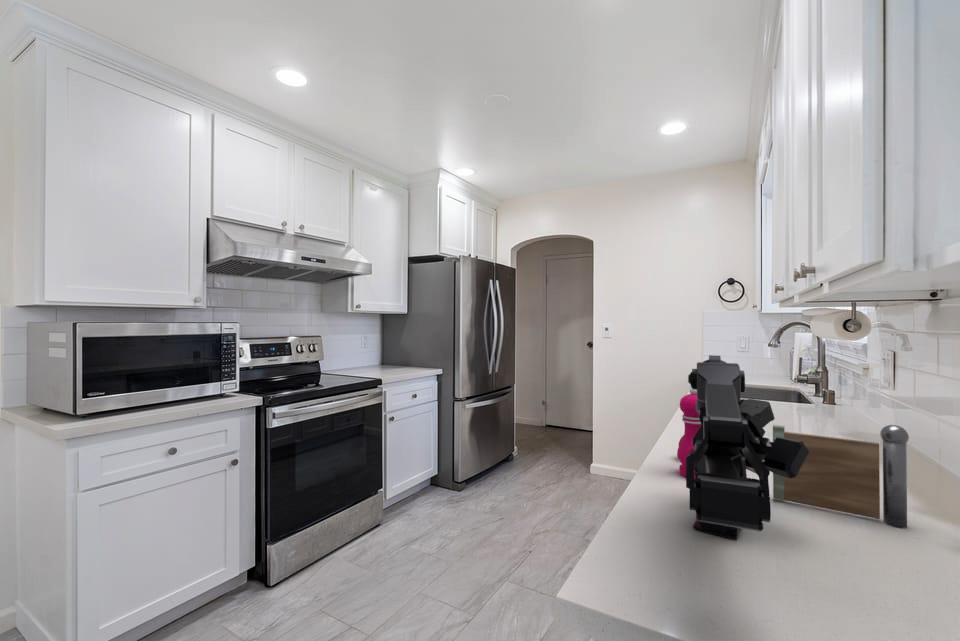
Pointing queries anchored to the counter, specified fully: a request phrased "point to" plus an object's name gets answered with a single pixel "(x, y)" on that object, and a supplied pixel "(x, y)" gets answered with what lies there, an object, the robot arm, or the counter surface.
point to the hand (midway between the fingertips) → (766, 475)
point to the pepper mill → (688, 428)
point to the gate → (833, 475)
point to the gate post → (894, 475)
